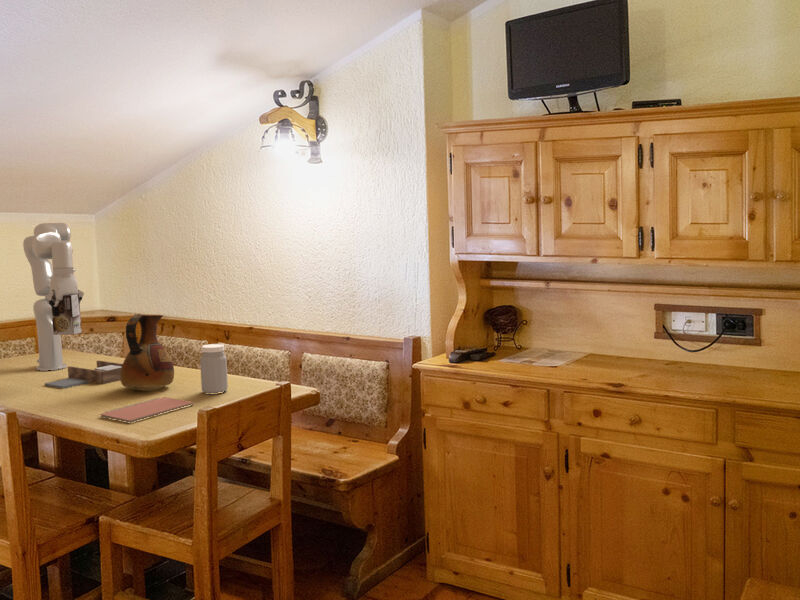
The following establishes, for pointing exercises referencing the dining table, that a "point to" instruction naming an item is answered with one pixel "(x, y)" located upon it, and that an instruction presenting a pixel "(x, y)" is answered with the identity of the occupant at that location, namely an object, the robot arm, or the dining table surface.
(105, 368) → the grey offcut
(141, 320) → the ceramic pitcher
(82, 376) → the tray
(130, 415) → the notebook
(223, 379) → the jar
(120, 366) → the grey offcut
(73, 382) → the slate mat
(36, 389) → the dining table surface
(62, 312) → the coffee box
